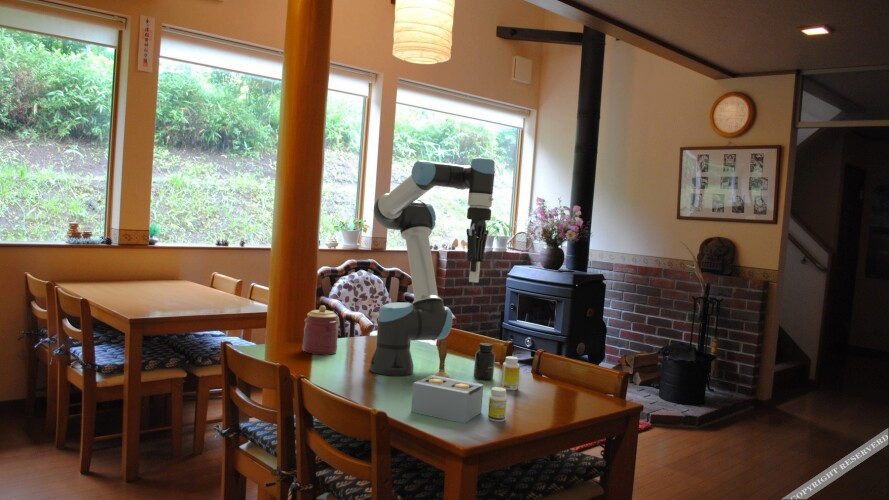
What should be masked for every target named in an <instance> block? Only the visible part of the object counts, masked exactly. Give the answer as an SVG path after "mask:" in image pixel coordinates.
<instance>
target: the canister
mask: <svg viewBox="0 0 889 500" xmlns="http://www.w3.org/2000/svg"><path fill="white" fill-rule="evenodd" d="M306 316H307V317H306V318H305V319H304V320H303V321H304V322H305V325H304V328H303V341H302V351H303V352H304V351H305V352H304V353H306V352H308V353H307V354H309V353H312V354H311V355H317V354H322V355H323V356H325V354H328V355H333V353H334V354H336V353H337V351H338V336H339V329H338V324H339V323H340V321H339V320H338V319H337V317H338V314H337V313H335V311H332V310H327V307H326V306H325V305H320V306H319V307H318V309H313V310H311V311H309V312H308V313H307V314H306Z"/></svg>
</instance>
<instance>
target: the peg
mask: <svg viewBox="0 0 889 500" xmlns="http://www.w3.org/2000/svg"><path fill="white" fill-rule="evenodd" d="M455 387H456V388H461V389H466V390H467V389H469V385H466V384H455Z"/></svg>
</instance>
